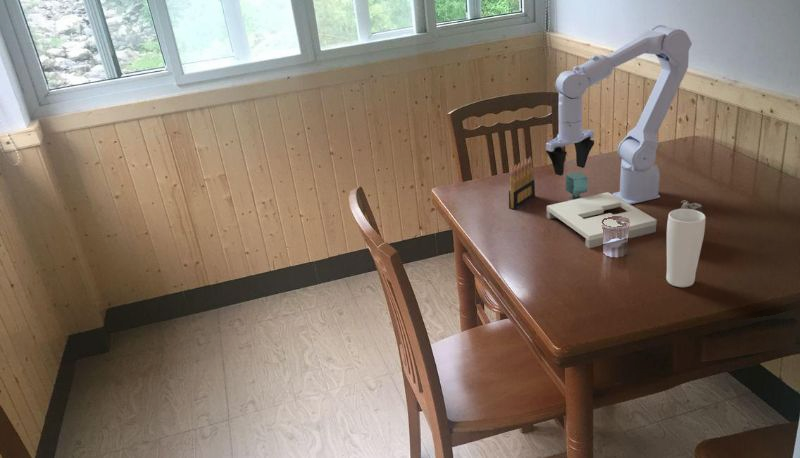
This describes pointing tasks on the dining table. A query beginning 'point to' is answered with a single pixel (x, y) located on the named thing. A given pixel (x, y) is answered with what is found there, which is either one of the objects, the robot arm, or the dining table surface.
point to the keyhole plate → (600, 217)
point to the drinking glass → (683, 245)
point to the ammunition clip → (521, 184)
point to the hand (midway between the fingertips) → (570, 170)
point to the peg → (576, 185)
